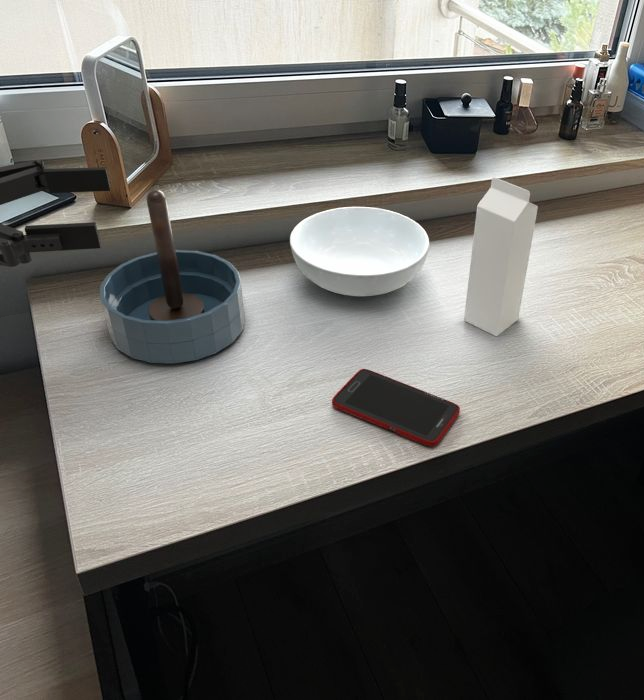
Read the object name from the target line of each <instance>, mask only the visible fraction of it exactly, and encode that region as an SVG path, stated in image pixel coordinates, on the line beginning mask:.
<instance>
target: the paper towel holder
mask: <svg viewBox="0 0 644 700" xmlns="http://www.w3.org/2000/svg"><path fill="white" fill-rule="evenodd" d="M145 199H146V204H147V209H148V214H149V219H150V225H151V229H152V235H153V241H154V245H155V251H156V252H157V256H158V261H159V266H160V272H161V277H162V282H163V287H164V292H165V296H162V297H160V298H158V299H156V300H155V301H154V302H153V303H152V304H151V305H150V307H149V310H148V311H149V316H150V320H155V321H169V320H177V319H184V318H189V317H192V316H196V315H199V314H202V313H205V309H204V303H203V301H202V300H201V299H200V298H199V297H197V296H195V295H192V294H187V293H183V292H182V286H181V280H180V275H179V269H178V263H177V258H176V252H175V250H176V248H175V242H174V235H173V229H172V223H171V218H170V212H169V206H168V201H167V196H166V194H165V193H164V192H163V191H161V189H151V190H150V191H149V192H148V193H147V195H146V197H145Z"/></svg>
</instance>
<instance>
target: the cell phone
mask: <svg viewBox="0 0 644 700" xmlns="http://www.w3.org/2000/svg"><path fill="white" fill-rule="evenodd" d="M331 406H332V407H333V408H336V409H337V410H340V411H342V412H345V413H347V414H349V415H351V416H354V417H356V418H359V419H362V420H364V421H366V422H369V423H370V424H374V425H377V426H379V427H381V428H384V429H386V430H388V431H391V432H394V433H395V434H397V435H400V436H402V437H405V438H407V439H409V440H412V441H414V442H417V443H418V444H419V443H420V444H422V445H424V446H427V447H431V448H433V447H436V446H437V445H438V444H440V442H441V440H442V439H443V438H444V436H445V435H446V434H447V432H448V430H449V429H450V428H451V426H453V424H454V422H455V421H456V420H457V418H458V416H459V415H460V412H461V407H460V406H459V405H458V404H457V403H455V402H452V401H451V400H448V399H445V398H442V397H440V396H437V395H435V394H432V393H429V392H427V391H424V390H422V389H420V388H417V387H415V386H411V385H410V384H406V383H404V382H402V381H398V380H396V379H395V378H391V377H389V376H387V375H384V374H381V373H379V372H376V371H373V370H371V369H367V368H361V369H359V370H358V371H357V372H355V374H354V375H352V377H350V379H349V380H348V381H347V382H346V383H345V384H344V385H343V386H342V387H341V388H340V389H339V390H338V392H336V394H334V396H333V397H332V398H331Z"/></svg>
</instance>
